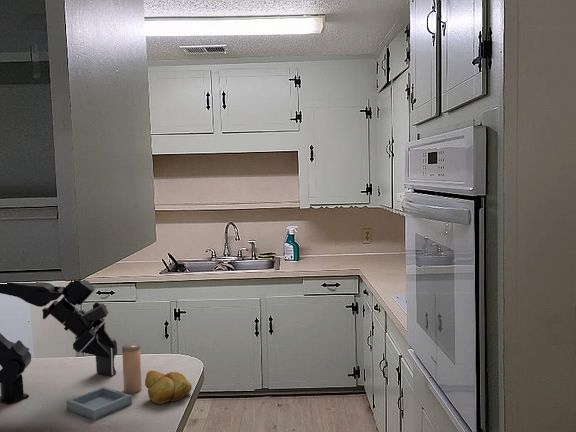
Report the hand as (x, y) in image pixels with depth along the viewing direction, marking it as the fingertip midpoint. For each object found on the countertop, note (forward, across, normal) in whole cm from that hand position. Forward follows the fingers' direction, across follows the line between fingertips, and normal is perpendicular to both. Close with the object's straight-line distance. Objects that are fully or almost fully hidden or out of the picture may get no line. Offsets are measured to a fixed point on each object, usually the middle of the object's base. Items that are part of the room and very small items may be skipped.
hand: (111, 351), depth 169 cm
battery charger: (+6, +16, +11) cm, 20 cm away
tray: (+7, -11, +10) cm, 16 cm away
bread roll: (+20, -8, -3) cm, 22 cm away
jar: (+12, 0, +4) cm, 13 cm away
